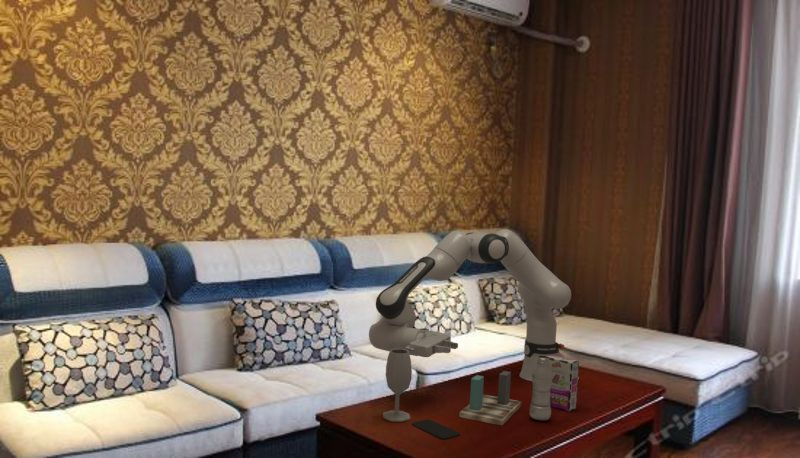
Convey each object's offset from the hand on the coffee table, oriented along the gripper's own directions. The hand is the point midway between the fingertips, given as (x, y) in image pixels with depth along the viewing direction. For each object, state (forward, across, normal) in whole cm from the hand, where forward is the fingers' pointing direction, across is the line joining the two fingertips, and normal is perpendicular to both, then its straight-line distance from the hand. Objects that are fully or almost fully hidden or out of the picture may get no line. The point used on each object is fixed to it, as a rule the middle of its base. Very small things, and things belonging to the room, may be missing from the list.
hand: (453, 348), depth 225 cm
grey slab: (+15, +10, +18) cm, 25 cm away
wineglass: (-11, -17, +20) cm, 29 cm away
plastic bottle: (+28, +6, +20) cm, 35 cm away
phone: (+3, -20, +21) cm, 29 cm away
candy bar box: (+30, +23, +20) cm, 43 cm away
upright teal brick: (+9, 0, +18) cm, 20 cm away
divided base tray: (+12, +5, +20) cm, 24 cm away
